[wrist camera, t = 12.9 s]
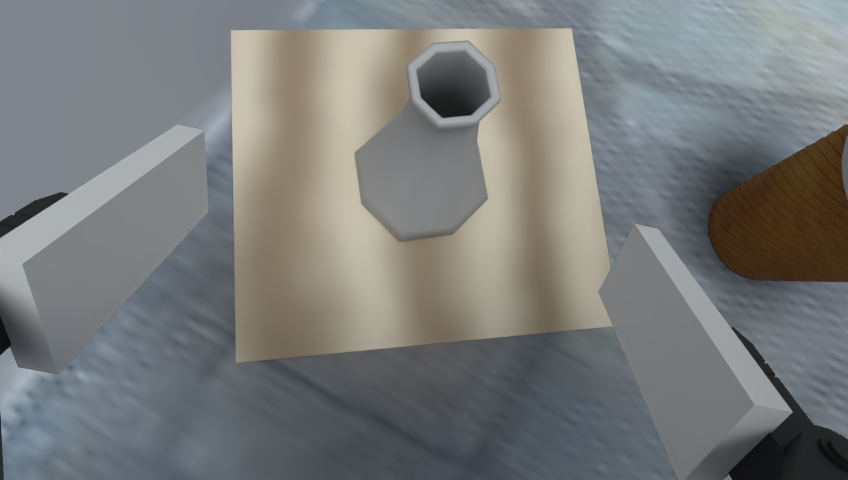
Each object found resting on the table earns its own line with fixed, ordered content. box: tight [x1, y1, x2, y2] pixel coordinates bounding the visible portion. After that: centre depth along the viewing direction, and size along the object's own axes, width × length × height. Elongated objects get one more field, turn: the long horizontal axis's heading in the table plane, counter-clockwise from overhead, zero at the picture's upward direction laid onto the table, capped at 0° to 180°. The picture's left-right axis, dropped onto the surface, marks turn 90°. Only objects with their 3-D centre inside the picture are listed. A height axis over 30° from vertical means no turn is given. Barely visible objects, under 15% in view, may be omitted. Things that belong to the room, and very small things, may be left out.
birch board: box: [231, 29, 612, 363], centre depth 27 cm, size 20×18×3 cm
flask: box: [355, 40, 501, 242], centre depth 20 cm, size 7×7×10 cm
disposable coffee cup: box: [709, 125, 848, 282], centre depth 24 cm, size 10×10×12 cm
